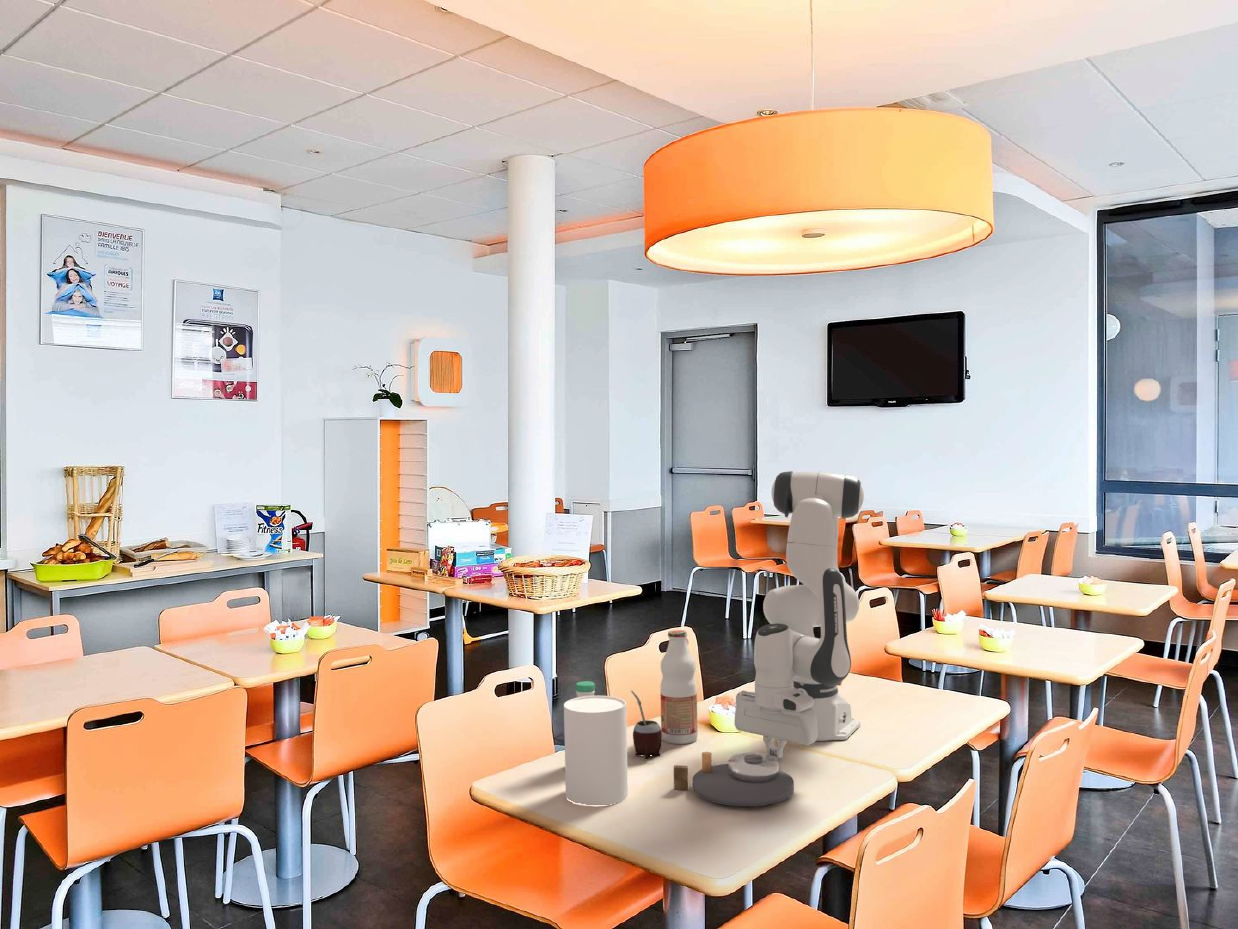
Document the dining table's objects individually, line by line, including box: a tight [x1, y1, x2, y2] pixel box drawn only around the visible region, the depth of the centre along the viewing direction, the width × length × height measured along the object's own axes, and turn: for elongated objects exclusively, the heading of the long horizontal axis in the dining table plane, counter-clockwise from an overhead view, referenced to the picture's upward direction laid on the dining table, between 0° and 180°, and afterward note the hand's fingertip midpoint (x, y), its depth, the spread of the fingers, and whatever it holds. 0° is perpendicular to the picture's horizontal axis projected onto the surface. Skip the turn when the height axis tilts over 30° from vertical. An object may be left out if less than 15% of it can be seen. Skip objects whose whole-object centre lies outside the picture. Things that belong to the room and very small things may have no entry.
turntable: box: [691, 751, 795, 807], centre depth 202 cm, size 22×22×6 cm
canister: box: [563, 695, 629, 806], centre depth 202 cm, size 14×14×20 cm
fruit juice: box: [659, 629, 699, 745], centre depth 239 cm, size 9×9×28 cm
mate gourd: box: [630, 690, 663, 761], centre depth 227 cm, size 8×8×15 cm
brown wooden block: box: [673, 764, 689, 792], centre depth 204 cm, size 3×2×5 cm, turn 81°
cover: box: [728, 752, 780, 783], centre depth 205 cm, size 11×11×4 cm
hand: (775, 756), depth 212 cm, fingers closed
